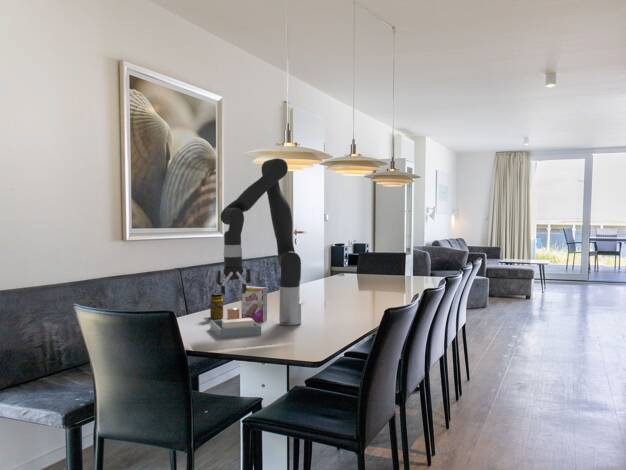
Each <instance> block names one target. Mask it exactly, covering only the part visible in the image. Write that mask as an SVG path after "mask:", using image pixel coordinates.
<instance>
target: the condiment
mask: <svg viewBox="0 0 626 470" xmlns="http://www.w3.org/2000/svg"><path fill="white" fill-rule="evenodd" d="M209 301H210V302H209V303H210V305H209V306H210V311H209V313H210V315H209V317H208V316H207V317H204V319H205V320H207V321H215V320H227V318H225V317H224V299H223V294H222V293H221V292H214V293H211V294H210V300H209Z"/></svg>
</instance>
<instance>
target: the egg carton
mask: <svg viewBox="0 0 626 470" xmlns="http://www.w3.org/2000/svg"><path fill="white" fill-rule="evenodd" d="M250 326H254V320H253V319H252V318H243V319H231V320H227V319H222V329H228V328H239V327H250Z"/></svg>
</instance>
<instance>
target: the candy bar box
mask: <svg viewBox="0 0 626 470" xmlns="http://www.w3.org/2000/svg"><path fill="white" fill-rule="evenodd" d="M241 318H252V319H253V320H254V322H256V323H259V322H260V323H264V322H267V321H268V287H265V286H263V287H262V286H253V285H252V286H251V285H246V292H245V293H242V292H241Z"/></svg>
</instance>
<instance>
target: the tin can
mask: <svg viewBox="0 0 626 470" xmlns="http://www.w3.org/2000/svg"><path fill="white" fill-rule="evenodd" d="M226 315H227V318H226V320H231V319H239V318H240V308H239V307H229V308H227V314H226Z"/></svg>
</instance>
